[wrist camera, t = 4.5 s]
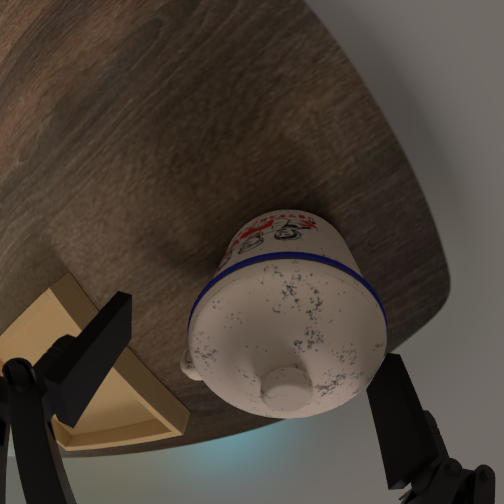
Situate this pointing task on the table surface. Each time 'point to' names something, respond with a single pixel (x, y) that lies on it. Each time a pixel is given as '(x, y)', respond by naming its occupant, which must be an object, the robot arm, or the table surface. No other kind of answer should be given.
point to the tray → (112, 388)
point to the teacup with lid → (286, 320)
